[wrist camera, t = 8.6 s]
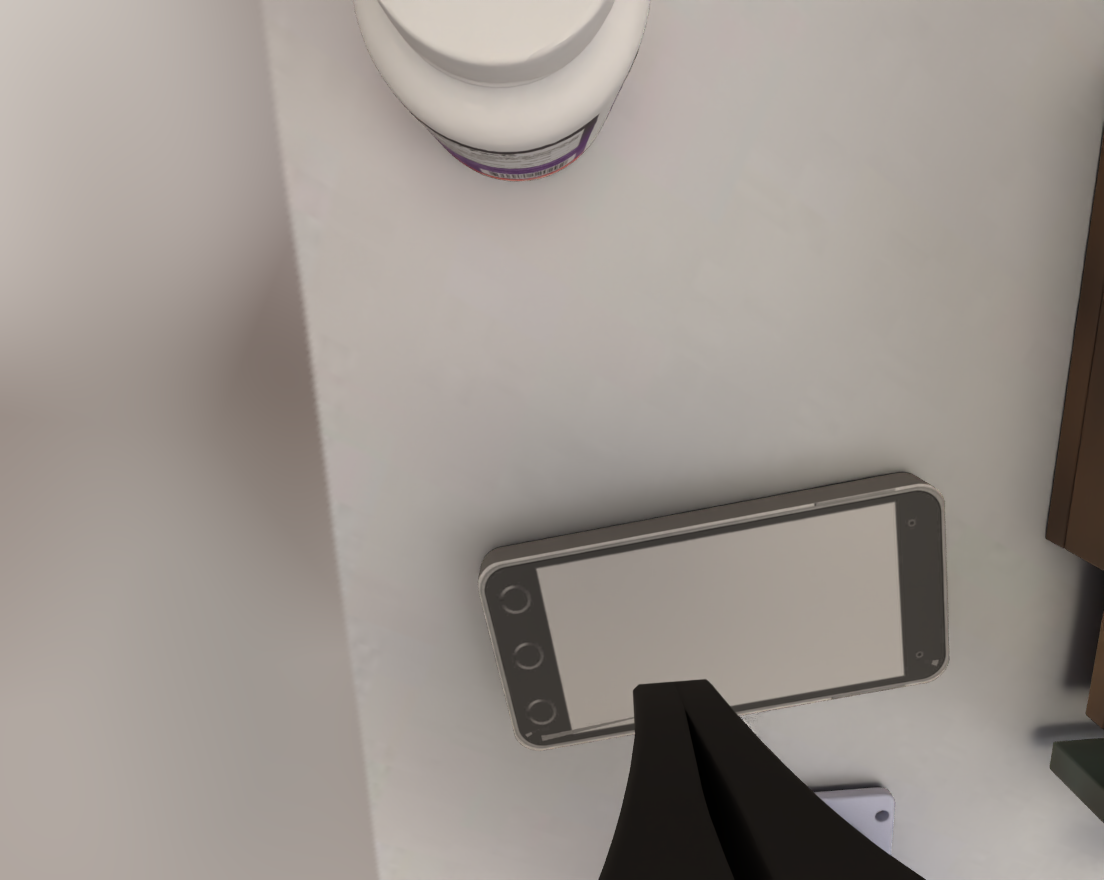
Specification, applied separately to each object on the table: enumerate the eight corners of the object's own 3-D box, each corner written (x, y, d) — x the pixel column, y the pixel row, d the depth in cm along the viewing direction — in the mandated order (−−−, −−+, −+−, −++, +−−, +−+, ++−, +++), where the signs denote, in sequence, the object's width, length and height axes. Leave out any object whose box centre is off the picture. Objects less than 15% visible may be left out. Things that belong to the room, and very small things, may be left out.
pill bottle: (487, -79, 17) (426, -477, 8) (651, 54, 18) (772, -160, 9) (381, 107, 18) (217, -44, 9) (540, 223, 19) (541, 196, 10)
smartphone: (472, 566, 21) (944, 478, 20) (475, 551, 22) (924, 467, 21) (519, 754, 23) (949, 678, 22) (520, 733, 24) (932, 660, 23)
